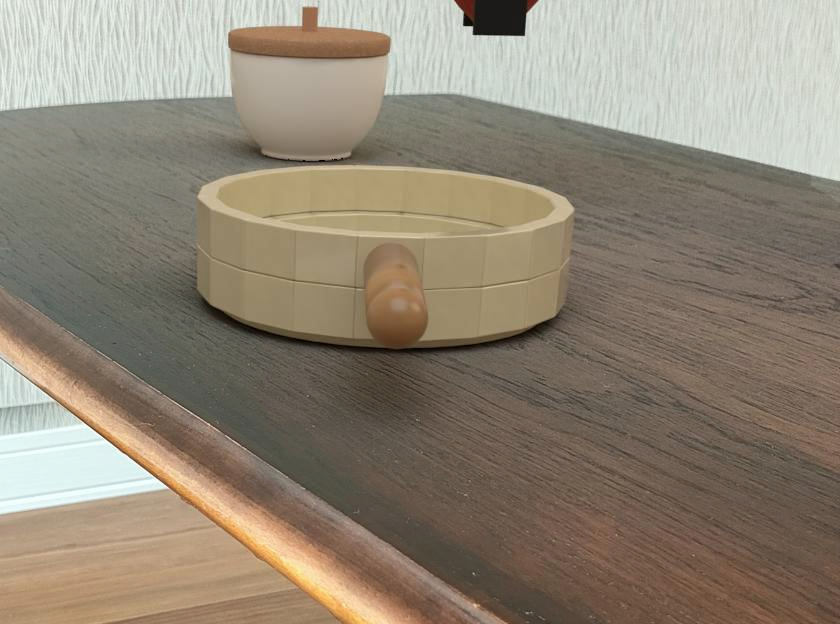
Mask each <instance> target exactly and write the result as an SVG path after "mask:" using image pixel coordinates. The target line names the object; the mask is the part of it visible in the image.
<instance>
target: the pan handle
mask: <svg viewBox="0 0 840 624" xmlns="http://www.w3.org/2000/svg"><path fill="white" fill-rule="evenodd" d="M363 274H364V290H365V305H366V320H367V326H368V329H369V331H370V333H371V335H372V337H373V338H374V339H375V340H376V341H377V342H378V343H379V344H381V345H383V346H384V347H387V348H386V349H390V350H391V349H392V350H403V349H408V348H407V347H409V346H412V345H413V344H415V343H416V342H418V341H419V339H420V338H421V337H422V336H423V334H424V333H425V330H426V328H427V324H428V311H427V306H426V302H425V297H424V292H423V288H422V283H421V278H420V274H419V269H418V264H417V261H416V258H415V257H414V255H413V254H412V252H411V251H410V250H409V249H408V248H406V247H405V246H403V245H401V244H398V243H385V244H381V245H379V246H377V247H376V248H374V249H373V250H372V251H371V252H370V253H369V255H368V256H367V258H366V260H365V263H364V268H363Z"/></svg>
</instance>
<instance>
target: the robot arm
mask: <svg viewBox="0 0 840 624" xmlns="http://www.w3.org/2000/svg"><path fill="white" fill-rule="evenodd" d="M527 1H528V0H474V16H473V21H472V20H471V19H470V18H469V17H468V16H467V15H466V14H465V13H464V12H463V14H462V26H463V27H472V34H471V35H473V36H486V37H487V36H489V37H491V36H492V37H495V36H497V37H503V36H504V37H526V29H527V15H528V13H527Z"/></svg>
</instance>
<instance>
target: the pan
mask: <svg viewBox="0 0 840 624" xmlns="http://www.w3.org/2000/svg"><path fill="white" fill-rule="evenodd" d="M575 213H576V209H575V207H574V206H573V205H572V204H571V203H570V201H569V200H568V198H566V197H565V196H563V195H561V194H558V193H556V192H554V191H551V190H549V189H547V188H545V187H542V186H539V185H534V184H530V183H526V182H523V181H517V180H514V179H509V178H505V177H499V176H494V175H493V176H492V175H486V174H480V173H472V172H466V171H459V170H458V171H457V170H452V169H451V170H448V169H439V168H427V167H417V166H416V167H414V166H397V165H394V166H393V165H368V164H367V165H366V164H365V165H364V164H355V165H354V164H343V165H342V164H339V165H338V164H337V165H336V164H335V165H334V164H333V165H305V166H304V165H302V166H290V167H289V166H288V167H280V168H279V167H278V168H267V169H258V170H253V171H248V172H243V173H238V174H232V175H227V176H223V177H221V178H218V179H216V180H214V181H211V182H209V183H207V184H204V185H202V186H201V188H200V191H199V192H198V195H197V197H196V243H197V245H196V278H197V279H196V290H197V292H198V293H199V294H200V296H201V297H202V298H203V299H204V300H205V301H206V302H207V303H208V304H209V305H210V306H211V307H213V308H216V309H218V310H220V311H221V312H223V313H224V314H225V315H227V316H228V317H229V318H232V319H233V320H235V321H237V322H239V323H241V324H243V325H246V326H249V327H252V328H254V329H258V330H260V331H264V332H268V333H270V334H275V335H277V336H283V337H288V338H293V339H297V340H304V341H308V342H309V341H310V342H314V343H320V344H321V343H323V344H330V345H339V346H347V347H348V346H349V347H359V348H360V347H361V348H377V349H388V348H387V347H384V346H383V345H381V344H379V343H378V342H377V341H376V340H375V339H374V338H373V337H372V335H371V333H370V331H369V329H368V326H367V320H366V305H365V290H364V274H363V268H364V263H365V260H366V258H367V256H368V255H369V253H370V252H371V251H372V250H373V249H374V248H376V247H377V246H379V245H381V244H385V243H398V244H401V245H403V246H405V247H406V248H408V249H409V250H410V251H411V252H412V254H413V255H414V257H415V258H416V261H417V264H418V269H419V274H420V278H421V283H422V288H423V292H424V297H425V302H426V306H427V311H428V324H427V328H426V330H425V333H424V334H423V336H422V337H421V338H420V339H419V341H418V342H416V343H415V344H413V345H412V346H409V347H407V348H406V349H432V348H447V347H458V346H459V347H461V346H466V345H467V346H469V345H475V344H482V343H488V342H494V341H497V340H502V339H507V338H510V337H513V336H517V335H519V334H522V333H525V332H527V331H529V330H531V329H533V328H535V327H536V326H538V324H541V323H543V322H546V321H548V320H551V319H553V318H556V316H557V315H558V313H559V312H560V311H561V309H562V308H563V307H564V305H565V304H566V302H567V301H566V299H567V291H568V281H569V273H570V271H569V270H570V269H569V268H570V263H571V252H572V251H571V250H572V242H573V241H572V240H573V235H574V234H573V233H574V222H575Z"/></svg>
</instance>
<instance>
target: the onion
mask: <svg viewBox="0 0 840 624" xmlns="http://www.w3.org/2000/svg"><path fill="white" fill-rule="evenodd" d="M453 1H454V3H455V4H456V5H457V7H458V8H459V9H460V10H461V11H462V12H463V13H465V14H466V15H467V16H468V17H469V18H470V19H471V20H472V21H473V16H474V0H453ZM539 1H540V0H528V1H527V14H528V13H529V12H530V10H532V8H533V7H534V6H536V4H537V3H538V2H539Z"/></svg>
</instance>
